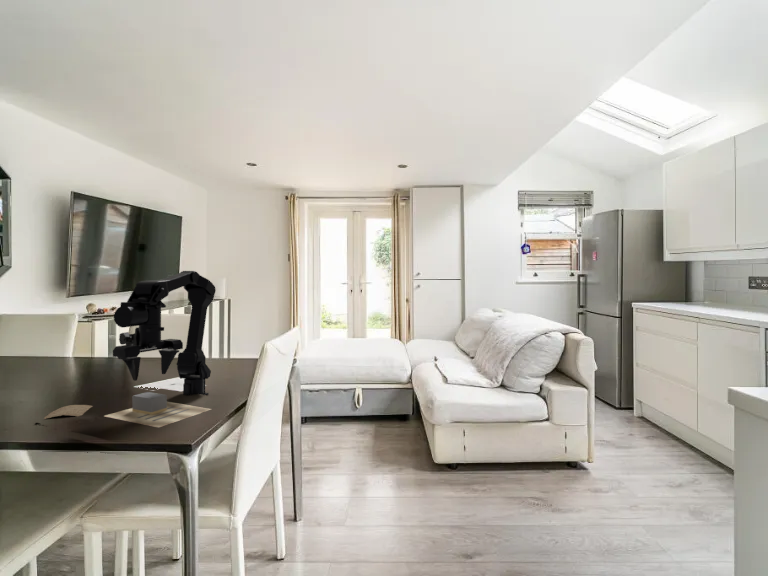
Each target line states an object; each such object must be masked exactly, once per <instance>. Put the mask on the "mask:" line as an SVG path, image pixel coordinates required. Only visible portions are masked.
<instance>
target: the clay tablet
mask: <svg viewBox="0 0 768 576" xmlns="http://www.w3.org/2000/svg"><path fill="white" fill-rule="evenodd" d="M93 407H94V405H88V404H71V405H65V406H62V407H60V408H57V409H55V410H52V411H51V412H49V413H48V414H47V415H46V416H44V418H43V419H44V420H45V419H50V418H54V417H61V416H73V417H74V416H75V417H81V416H83V415H84V414H85V413H86V412H88V410H90V409H91V408H93Z"/></svg>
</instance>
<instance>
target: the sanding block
mask: <svg viewBox="0 0 768 576" xmlns="http://www.w3.org/2000/svg"><path fill="white" fill-rule="evenodd" d="M131 399H132V402H131V404H132V407H131V408H132V411H134V412H139V413H145V414H150V415H153V414H156V413H159V412H162V411H166V410H167V402H168V395H167V394H163V393H156V392H152V391H146V392H142V393H138V394H135V395H132V397H131Z"/></svg>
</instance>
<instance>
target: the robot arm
mask: <svg viewBox="0 0 768 576" xmlns="http://www.w3.org/2000/svg"><path fill="white" fill-rule="evenodd" d="M182 287H183V289H184V290H185V291H186V292H187V298H188V301H189V303H190V305H191V310H190V317H189V323H188V331H187V337H186V338H187V339H186V345H185V348H184V347H183V346H184V344H183V343H184V342H183V341H182V340H181V339H177V338H166V339H162V332H163V331H165V326H162V309H163V308H164V309H165V308H166V307H167V305H166V304H165V303H164V302H163V301H162V300H164V299H165V298H167V297H168V296H169V293H170V292H172V291H175V290H177V289H180V288H182ZM216 290H217V289H216V286H215V284H213V282H212V281H210V279H208V278H206V277H204V276H203V275H200V274H199V273H198V271H196V270H182V271H181V272H178V273H176V274H172V275H169V276H167V277H164V278H161V279H155V280H154V279H153V280H152V279H151V280H140V281H137V283H135V286H134V289H133V291H132V292H131V294H130V295H129V298H127V301H123V302H122V301H121V302H120V306H119V307H118V308H117V309H116V310H115V312H114V314H113V320H114V323H115V324H116V325H117V326H118V327H119V328H130V327H135V329H134V333H129V332H128V331H127V332H122V333H120V334H119V335H118V338H119V339H118V340H119V344H120V345H117V346H115V347H114V348H113V350H112V357H115V358H117V359H118V360H122V361H123V362H124V363H125V364H126V365H125V366H126V367H127V369H128V371H129V373H130V375H131V378H132V380H133V381H138V377H139V373H140V372H139V371H140V366H141V360H142V359H141V358H142V357H141V356H139V355H140V354H141V353H145V352H152V351H158V353H159V354H160V360H161V361H160V362H161V363H160V367H161V368H160V370H161V375H166V374H167V372H168V369H169V367H170V366H171V365H172V362H173V360H174V359H175V357H176V355H177V362H176V363H175V365H176V369H177V372H178V377H180V379H182V378H185V379H184V384H183V391H182V392H183V393H182V394H183V396H194V395H195V396H196V395H202V396H208V395H209V392H206V386H205V385H206V380H208V379H209V378H210V377H211V372H212V370H211V369H210V368H209V367H208V365H207V364H206V360H207V359H206V355H205V353H204V351H203V343H204V342H203V341H204V335H205V334H204V333H205V327H206V319H207V312H208V307H209V306H210V305H211V304H212V302H213V301H214V299H215V293H216ZM183 348H184V350H183ZM180 350H183V351H181V352H180Z"/></svg>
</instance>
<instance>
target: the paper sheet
mask: <svg viewBox="0 0 768 576" xmlns="http://www.w3.org/2000/svg"><path fill="white" fill-rule="evenodd" d="M184 379H185V378H182V379H180V377H179V376H177V377H173V378H168V379H164V380H159V381H154V382H150V383H144V384H139V385H135V386H133V388H138V387H139V389H141V388H140V387H141V386H142V387H143V388H145V387H148V388H150V387H151V388H154V387H155V388H156V389H157V388H158V389H157V390H159V389H163V390H169V391H177V392H183V384H184ZM207 386H208V385H206V384H205V387H207ZM143 388H142V389H143Z"/></svg>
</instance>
